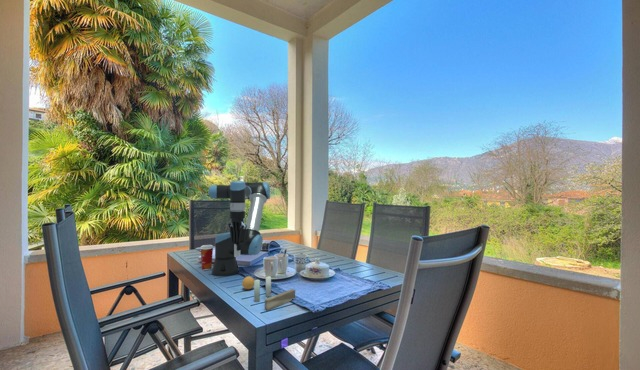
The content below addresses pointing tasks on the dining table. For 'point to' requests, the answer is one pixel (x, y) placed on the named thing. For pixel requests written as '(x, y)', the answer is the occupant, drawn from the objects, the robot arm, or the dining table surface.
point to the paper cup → (206, 256)
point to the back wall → (279, 299)
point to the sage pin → (256, 290)
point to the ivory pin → (268, 286)
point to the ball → (248, 283)
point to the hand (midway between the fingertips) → (237, 256)
